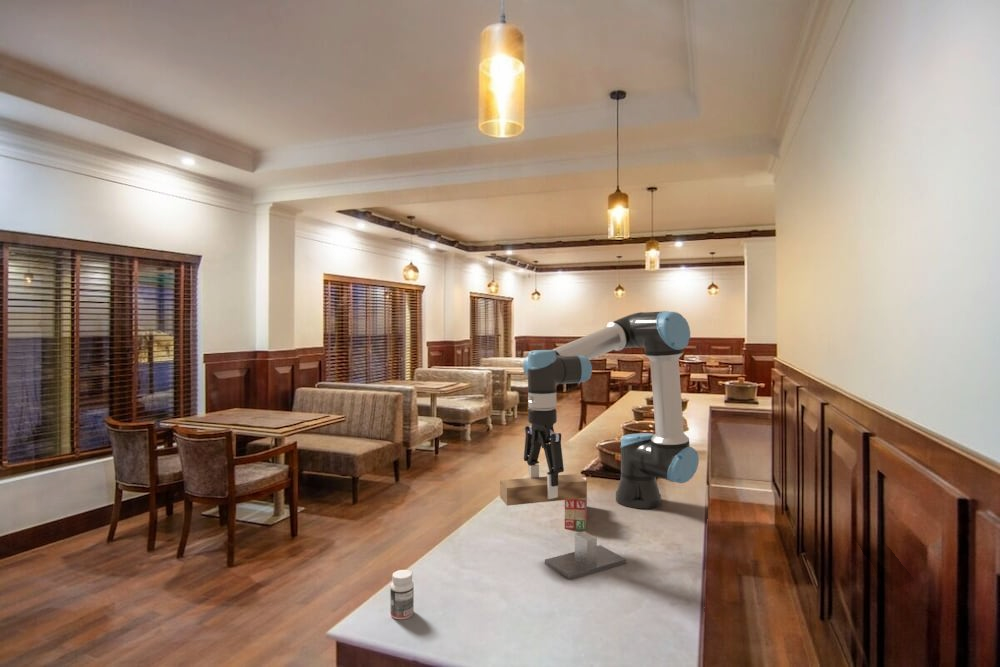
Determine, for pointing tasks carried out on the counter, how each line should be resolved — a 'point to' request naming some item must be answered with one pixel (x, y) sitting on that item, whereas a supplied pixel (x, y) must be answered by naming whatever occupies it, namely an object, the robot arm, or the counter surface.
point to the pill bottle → (402, 594)
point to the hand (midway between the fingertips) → (543, 493)
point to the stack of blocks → (575, 513)
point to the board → (541, 489)
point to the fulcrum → (584, 558)
